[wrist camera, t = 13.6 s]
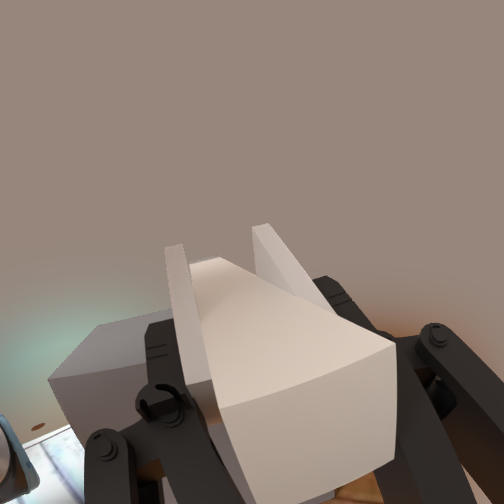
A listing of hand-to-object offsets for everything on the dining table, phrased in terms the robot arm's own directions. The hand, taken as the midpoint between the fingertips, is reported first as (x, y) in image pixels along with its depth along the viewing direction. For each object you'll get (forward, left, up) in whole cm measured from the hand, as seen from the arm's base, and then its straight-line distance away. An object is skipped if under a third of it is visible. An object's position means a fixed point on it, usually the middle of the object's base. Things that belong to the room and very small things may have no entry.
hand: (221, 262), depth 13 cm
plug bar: (-5, +1, -4) cm, 6 cm away
